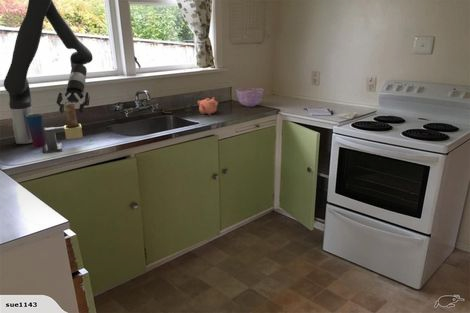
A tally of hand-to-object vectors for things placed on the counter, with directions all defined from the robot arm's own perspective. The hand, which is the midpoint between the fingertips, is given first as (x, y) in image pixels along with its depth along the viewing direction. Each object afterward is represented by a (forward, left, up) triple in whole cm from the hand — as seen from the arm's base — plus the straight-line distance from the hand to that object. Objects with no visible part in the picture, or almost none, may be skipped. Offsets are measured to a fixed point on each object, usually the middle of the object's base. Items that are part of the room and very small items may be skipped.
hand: (71, 112), depth 176 cm
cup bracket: (-5, 0, -16) cm, 17 cm away
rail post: (0, 0, -10) cm, 10 cm away
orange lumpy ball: (+82, +43, -17) cm, 94 cm away
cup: (-16, +9, -17) cm, 25 cm away
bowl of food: (+118, +55, -17) cm, 131 cm away
